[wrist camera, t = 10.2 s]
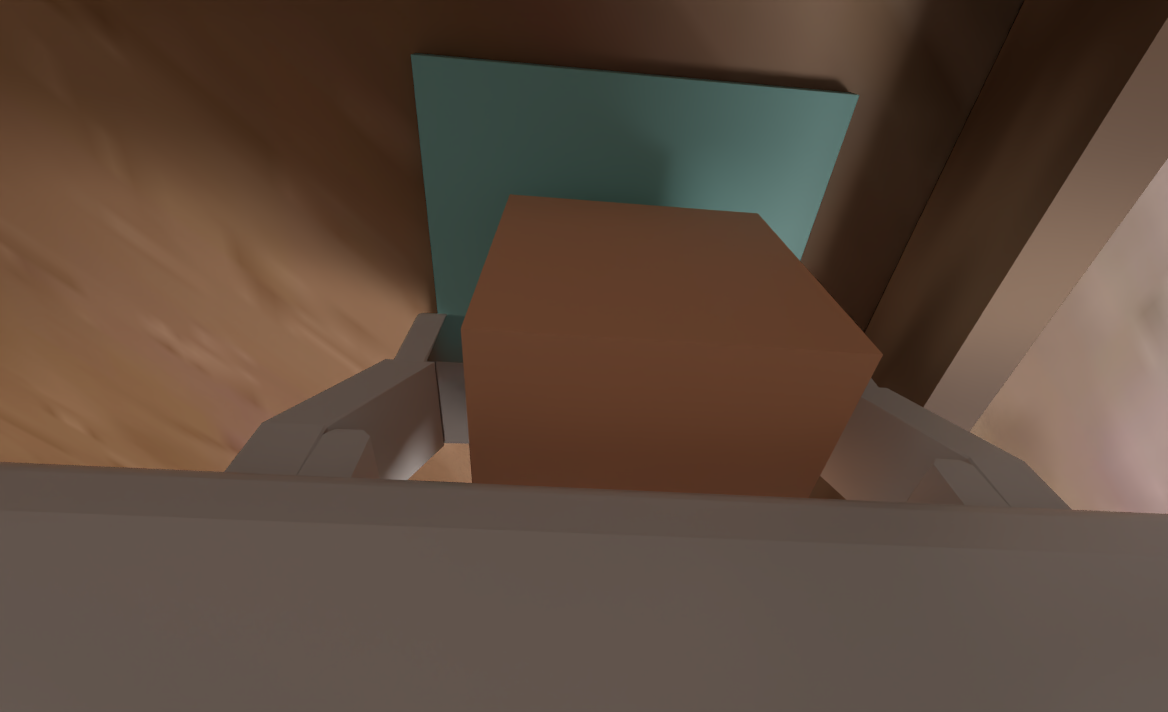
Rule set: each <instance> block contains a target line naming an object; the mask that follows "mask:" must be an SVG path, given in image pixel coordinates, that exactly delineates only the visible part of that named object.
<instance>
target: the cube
mask: <svg viewBox="0 0 1168 712" xmlns="http://www.w3.org/2000/svg"><path fill="white" fill-rule="evenodd" d="M461 339H462V352H463V366H464V379H465V393H466V406H467V420H468V434H469V447H470V461H471V474H472V483H481V484H503V485H526V486H548V487H570V488H593V489H615V490H637V491H660V492H682V493H704V494H727V495H750V496H773V497H795V498H809V496H810V494H811V492H812V490H813V488H814V486H815V484H816V482H817V481H818V479H819V477H820V475H821V473H822V471H823V469H824V467H825V465H826V463H827V461H828V459H829V458H830V456H831V454H832V452H833V450H834V448H835V446H836V444H837V442H838V440H839V438H840V436H841V434H842V433H843V431H844V429H845V427H846V425H847V423H848V421H849V419H850V417H851V415H852V413H853V411H854V409H855V408H856V406H857V404H858V402H859V400H860V398H861V396H862V394H863V392H864V390H865V388H866V386H867V385H868V383H869V381H870V379H871V377H872V375H873V373H874V371H875V369H876V367H877V365H878V363H879V361H880V360H881V358H882V356H883V354H882V353H881V352H880V350H879V349H878V348H877V347H876V346H875V345H874V344H873V343H872V341H871V340H870V339H869V338H868V337H867V336H866V335H865V334H864V332H863V331H862V330H861V329H860V328H859V327H858V326H857V325H856V323H855V322H854V321H853V320H852V319H851V318H850V317H849V316H848V314H847V313H846V312H845V311H844V310H843V309H842V308H841V306H840V305H839V304H838V303H837V302H836V301H835V300H834V299H833V297H832V296H831V295H830V294H829V293H828V292H827V291H826V290H825V288H824V287H823V286H822V285H821V284H820V283H819V282H818V281H817V279H816V278H815V277H814V276H813V275H812V274H811V273H810V272H809V270H808V269H807V268H806V267H805V266H804V265H803V264H802V263H801V261H800V260H799V259H798V258H797V257H796V256H795V255H794V254H793V252H792V251H791V250H790V249H789V248H788V247H787V246H786V245H785V243H784V242H783V241H782V240H781V239H780V238H779V237H778V236H777V234H776V233H775V232H774V231H773V230H772V229H771V228H770V226H769V225H768V224H767V223H766V222H765V221H764V220H763V219H762V217H761V216H760V215H759V214H758V213H746V212H733V211H720V210H707V209H694V208H681V207H668V206H655V205H642V204H629V203H616V202H603V201H590V200H577V199H564V198H551V197H538V196H525V195H512V194H510V195H509V198H508V201H507V203H506V206H505V209H504V211H503V214H502V217H501V220H500V222H499V225H498V228H497V231H496V233H495V236H494V239H493V242H492V244H491V247H490V250H489V253H488V255H487V258H486V261H485V264H484V266H483V269H482V272H481V274H480V277H479V280H478V283H477V285H476V288H475V291H474V294H473V296H472V299H471V302H470V305H469V307H468V310H467V313H466V316H465V318H464V321H463V324H462V327H461Z"/></svg>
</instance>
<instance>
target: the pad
mask: <svg viewBox="0 0 1168 712" xmlns="http://www.w3.org/2000/svg"><path fill="white" fill-rule="evenodd" d="M411 62H412V72H413V81H414V91H415V100H416V110H417V119H418V129H419V139H420V148H421V158H422V167H423V177H424V187H425V196H426V206H427V215H428V225H429V234H430V244H431V254H432V263H433V273H434V282H435V292H436V302H437V311H438V314H447V315H462V316H466V313H467V310H468V307H469V305H470V302H471V299H472V296H473V294H474V291H475V288H476V285H477V283H478V280H479V277H480V274H481V272H482V269H483V266H484V264H485V261H486V258H487V255H488V253H489V250H490V247H491V244H492V242H493V239H494V236H495V233H496V231H497V228H498V225H499V222H500V220H501V217H502V214H503V211H504V209H505V206H506V203H507V201H508V198H509V195H510V194H512V195H525V196H538V197H551V198H564V199H577V200H590V201H603V202H616V203H629V204H642V205H655V206H668V207H681V208H694V209H707V210H720V211H733V212H746V213H758V214H759V215H760V216H761V217H762V219H763V220H764V221H765V222H766V223H767V224H768V225H769V226H770V228H771V229H772V230H773V231H774V232H775V233H776V234H777V236H778V237H779V238H780V239H781V240H782V241H783V242H784V243H785V245H786V246H787V247H788V248H789V249H790V250H791V251H792V252H793V254H794V255H795V256H796V257H797V258H798V259H799V260H801V257H802V254H803V252H804V249H805V246H806V243H807V240H808V238H809V235H810V232H811V229H812V226H813V224H814V221H815V218H816V215H817V212H818V210H819V207H820V204H821V201H822V198H823V196H824V193H825V190H826V187H827V184H828V182H829V179H830V176H831V173H832V170H833V168H834V165H835V162H836V159H837V156H838V154H839V151H840V148H841V145H842V142H843V140H844V137H845V134H846V131H847V128H848V126H849V123H850V120H851V117H852V114H853V112H854V109H855V106H856V103H857V100H858V98H859V95H857V94H854V93H851V92H840V91H829V90H818V89H807V88H796V87H785V86H774V85H763V84H752V83H741V82H730V81H719V80H708V79H697V78H686V77H675V76H664V75H653V74H642V73H631V72H620V71H609V70H598V69H587V68H576V67H565V66H554V65H543V64H532V63H521V62H510V61H499V60H488V59H477V58H466V57H455V56H444V55H433V54H422V53H414V54H411Z"/></svg>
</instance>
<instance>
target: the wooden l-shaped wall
mask: <svg viewBox="0 0 1168 712" xmlns="http://www.w3.org/2000/svg"><path fill="white" fill-rule="evenodd" d="M1167 158H1168V0H1025V1H1024V3H1023V5H1022V7H1021V9H1020V11H1019V13H1018V15H1017V18H1016V20H1015V22H1014V24H1013V26H1012V28H1011V30H1010V32H1009V34H1008V36H1007V38H1006V40H1005V42H1004V45H1003V47H1002V49H1001V51H1000V53H999V55H998V57H997V59H996V61H995V63H994V65H993V67H992V69H991V72H990V74H989V76H988V78H987V80H986V82H985V84H984V86H983V88H982V90H981V92H980V94H979V96H978V99H977V101H976V103H975V105H974V107H973V109H972V111H971V113H970V115H969V117H968V119H967V121H966V123H965V125H964V128H963V130H962V132H961V134H960V136H959V138H958V140H957V142H956V144H955V146H954V148H953V150H952V152H951V155H950V157H949V159H948V161H947V163H946V165H945V167H944V169H943V171H942V173H941V175H940V177H939V179H938V182H937V184H936V186H935V188H934V190H933V192H932V194H931V196H930V198H929V200H928V202H927V204H926V206H925V209H924V211H923V213H922V215H921V217H920V219H919V221H918V223H917V225H916V227H915V229H914V231H913V233H912V236H911V238H910V240H909V242H908V244H907V246H906V248H905V250H904V252H903V254H902V256H901V258H900V260H899V263H898V265H897V267H896V269H895V271H894V273H893V275H892V277H891V279H890V281H889V283H888V285H887V287H886V290H885V292H884V294H883V296H882V298H881V300H880V302H879V304H878V306H877V308H876V310H875V312H874V314H873V317H872V319H871V321H870V323H869V325H868V327H867V329H866V331H865V333H864V334H865V335H866V336H867V337H868V338H869V339H870V340H871V341H872V343H873V344H874V345H875V346H876V347H877V348H878V349H879V350H880V352H881V353H882V354H883V356H882V358H881V360H880V361H879V363H878V365H877V367H876V369H875V371H874V373H873V375H872V377H871V378H872V379H873V381H874V382H875V383H876V384H877V386H878V387H879V388H888V389H890V390H892V391H893V392H895V393H897V394H899V395H901V396H903V397H905V398H907V399H908V400H910V401H912V402H914V403H916V404H918V405H920V406H921V407H923V408H925V409H927V410H929V411H931V412H933V413H935V414H936V415H938V416H940V417H942V418H944V419H946V420H948V421H949V422H951V423H953V424H955V425H957V426H959V427H961V428H963V429H964V430H966V431H968V432H970V430H971V429H972V427H973V426H974V425H975V423H976V422H977V421H978V419H979V418H980V416H981V415H982V414H983V412H984V411H985V410H986V408H987V407H988V405H989V404H990V403H991V401H992V400H993V398H994V397H995V396H996V394H997V393H998V392H999V390H1000V389H1001V387H1002V386H1003V385H1004V383H1005V382H1006V381H1007V379H1008V378H1009V376H1010V375H1011V374H1012V372H1013V371H1014V370H1015V368H1016V367H1017V365H1018V364H1019V363H1020V361H1021V360H1022V358H1023V357H1024V356H1025V354H1026V353H1027V352H1028V350H1029V349H1030V347H1031V346H1032V345H1033V343H1034V342H1035V341H1036V339H1037V338H1038V336H1039V335H1040V334H1041V332H1042V331H1043V329H1044V328H1045V327H1046V325H1047V324H1048V323H1049V321H1050V320H1051V318H1052V317H1053V316H1054V314H1055V313H1056V312H1057V310H1058V309H1059V307H1060V306H1061V305H1062V303H1063V302H1064V301H1065V299H1066V298H1067V296H1068V295H1069V294H1070V292H1071V291H1072V289H1073V288H1074V287H1075V285H1076V284H1077V283H1078V281H1079V280H1080V278H1081V277H1082V276H1083V274H1084V273H1085V272H1086V270H1087V269H1088V267H1089V266H1090V265H1091V263H1092V262H1093V261H1094V259H1095V258H1096V256H1097V255H1098V254H1099V252H1100V251H1101V249H1102V248H1103V247H1104V245H1105V244H1106V243H1107V241H1108V240H1109V238H1110V237H1111V236H1112V234H1113V233H1114V232H1115V230H1116V229H1117V227H1118V226H1119V225H1120V223H1121V222H1122V221H1123V219H1124V218H1125V216H1126V215H1127V214H1128V212H1129V211H1130V209H1131V208H1132V207H1133V205H1134V204H1135V203H1136V201H1137V200H1138V198H1139V197H1140V196H1141V194H1142V193H1143V192H1144V190H1145V189H1146V187H1147V186H1148V185H1149V183H1150V182H1151V180H1152V179H1153V178H1154V176H1155V175H1156V174H1157V172H1158V171H1159V169H1160V168H1161V167H1162V165H1163V164H1164V163H1165V161H1166V160H1167ZM809 498H818V499H840V500H846V499H845V498H844V497H843V496H842V495H841V494H840V493H838V492H837V491H836V490H835V489H834V488H833V487H832V486H831V485H830V484H829V483H827V482H826V481H825V480H824V479H823V478H822V477H821V476H820V477H819V479H818V481H817V482H816V484H815V486H814V488H813V490H812V492H811V494H810V496H809Z"/></svg>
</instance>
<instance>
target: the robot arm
mask: <svg viewBox="0 0 1168 712" xmlns="http://www.w3.org/2000/svg"><path fill="white" fill-rule="evenodd" d="M464 318H465V316H462V315H447V314H438V313H420V314H418V315H417V317H416V319H415V321H414V323H413V324H412V326H411V328H410V330H409V332H408V334H407V336H406V338H405V339H404V341H403V343H402V345H401V347H400V349H399V351H398V353H397V355H396V356H395V358H394V360H392V359H385V360H383V361H381V362H379V363H377V364H375V365H373V366H372V367H370V368H368V369H366V370H364V371H362V372H360V373H358V374H356V375H354V376H352V377H350V378H348V379H346V380H344V381H342V382H340V383H338V384H337V385H335V386H333V387H331V388H329V389H327V390H325V391H323V392H321V393H319V394H317V395H315V396H313V397H311V398H309V399H307V400H305V401H303V402H302V403H300V404H298V405H296V406H294V407H292V408H290V409H288V410H286V411H284V412H282V413H280V414H278V415H276V416H274V417H272V418H270V419H269V420H267V421H265V422H263V423H262V424H261V425H260V426H259V427H258V429H257V430H256V431H255V433H254V434H253V435H252V437H251V438H250V439H249V440H248V442H247V443H246V444H245V446H244V447H243V448H242V450H241V451H240V452H239V453H238V455H237V456H236V457H235V459H234V460H233V461H232V462H231V464H230V465H229V466H228V468H227V469H226V470H225V472H213V471H191V470H169V469H146V468H124V467H101V466H79V465H57V464H34V463H12V462H0V712H1168V514H1155V513H1133V512H1110V511H1088V510H1072V509H1071V508H1070V507H1069V506H1068V505H1067V504H1066V503H1065V502H1064V501H1063V500H1062V499H1061V498H1060V497H1059V496H1058V495H1057V494H1056V493H1055V492H1054V491H1053V490H1052V489H1051V488H1050V487H1049V486H1048V485H1047V484H1046V483H1045V482H1044V481H1043V480H1042V479H1041V478H1040V477H1039V476H1038V475H1037V474H1036V473H1035V472H1034V471H1033V470H1032V469H1031V468H1030V467H1029V466H1028V465H1027V464H1026V463H1025V462H1024V461H1022V460H1020V459H1018V458H1017V457H1015V456H1013V455H1011V454H1009V453H1007V452H1005V451H1004V450H1002V449H1000V448H998V447H996V446H994V445H992V444H990V443H989V442H987V441H985V440H983V439H981V438H979V437H977V436H976V435H974V434H972V433H970V432H968V431H966V430H964V429H963V428H961V427H959V426H957V425H955V424H953V423H951V422H949V421H948V420H946V419H944V418H942V417H940V416H938V415H936V414H935V413H933V412H931V411H929V410H927V409H925V408H923V407H921V406H920V405H918V404H916V403H914V402H912V401H910V400H908V399H907V398H905V397H903V396H901V395H899V394H897V393H895V392H893V391H892V390H890V389H888V388H879V387H878V386H877V384H876V383H875V382H874V381H873V379H872V378H871V379H870V381H869V383H868V385H867V386H866V388H865V390H864V392H863V394H862V396H861V398H860V400H859V402H858V404H857V406H856V408H855V409H854V411H853V413H852V415H851V417H850V419H849V421H848V423H847V425H846V427H845V429H844V431H843V433H842V434H841V436H840V438H839V440H838V442H837V444H836V446H835V448H834V450H833V452H832V454H831V456H830V458H829V459H828V461H827V463H826V465H825V467H824V469H823V471H822V473H821V475H820V476H821V477H822V478H823V479H824V480H825V481H826V482H827V483H829V484H830V485H831V486H832V487H833V488H834V489H835V490H836V491H837V492H838V493H840V494H841V495H842V496H843V497H844V498H845V499H846V500H840V499H818V498H795V497H773V496H750V495H727V494H704V493H682V492H660V491H637V490H615V489H593V488H570V487H548V486H526V485H503V484H481V483H459V482H437V481H414V480H408V479H409V478H410V477H411V476H412V475H413V474H414V473H415V472H416V471H417V470H418V469H419V468H420V467H421V466H423V465H424V464H425V463H426V462H427V461H428V460H429V459H430V458H431V457H432V456H433V455H434V454H435V453H436V452H437V451H439V450H440V449H441V448H442V447H443V446H444V443H468V444H469V434H468V420H467V406H466V393H465V379H464V366H463V352H462V339H461V327H462V324H463V321H464Z"/></svg>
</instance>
